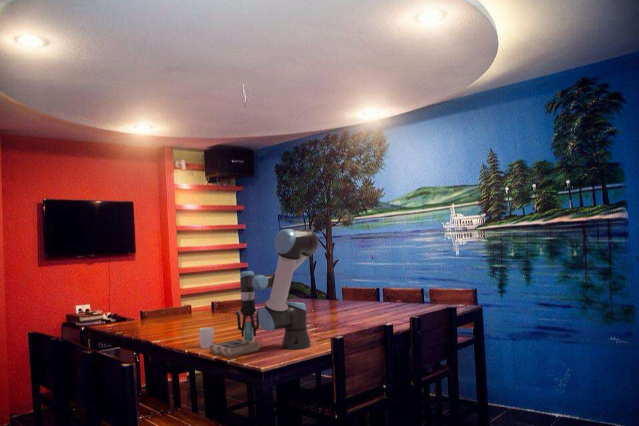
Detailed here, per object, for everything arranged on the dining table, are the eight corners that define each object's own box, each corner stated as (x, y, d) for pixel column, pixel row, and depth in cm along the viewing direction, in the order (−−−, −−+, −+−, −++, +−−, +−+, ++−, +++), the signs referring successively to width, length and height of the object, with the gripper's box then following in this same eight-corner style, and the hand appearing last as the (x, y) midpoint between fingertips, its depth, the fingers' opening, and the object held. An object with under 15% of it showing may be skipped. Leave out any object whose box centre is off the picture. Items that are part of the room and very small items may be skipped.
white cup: (215, 345, 259) (215, 327, 259) (212, 348, 251) (212, 329, 252) (201, 346, 258) (200, 327, 259) (197, 349, 250) (197, 330, 251)
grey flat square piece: (259, 350, 240) (259, 342, 240) (229, 357, 227) (229, 348, 228) (239, 346, 253) (239, 338, 253) (210, 352, 240) (210, 344, 241)
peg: (254, 344, 257) (253, 322, 258) (248, 345, 254) (247, 323, 255) (250, 343, 260) (249, 321, 260) (244, 344, 257) (243, 322, 258)
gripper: (264, 298, 262) (265, 340, 260) (233, 299, 263) (235, 341, 261) (262, 299, 255) (263, 343, 253) (231, 300, 255) (232, 344, 253)
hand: (249, 342), depth 257 cm, fingers closed on peg, 4 cm apart
